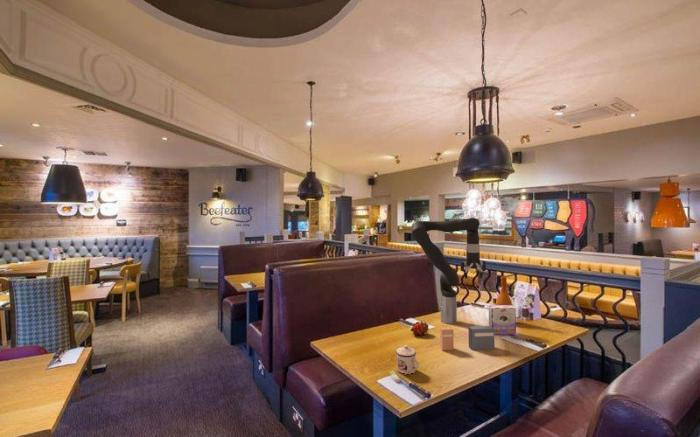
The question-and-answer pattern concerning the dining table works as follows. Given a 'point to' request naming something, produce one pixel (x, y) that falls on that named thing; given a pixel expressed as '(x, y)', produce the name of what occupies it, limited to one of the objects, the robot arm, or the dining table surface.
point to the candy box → (503, 319)
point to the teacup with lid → (406, 360)
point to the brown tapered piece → (503, 294)
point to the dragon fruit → (419, 328)
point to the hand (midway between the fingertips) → (473, 278)
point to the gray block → (481, 337)
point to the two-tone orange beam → (446, 338)
